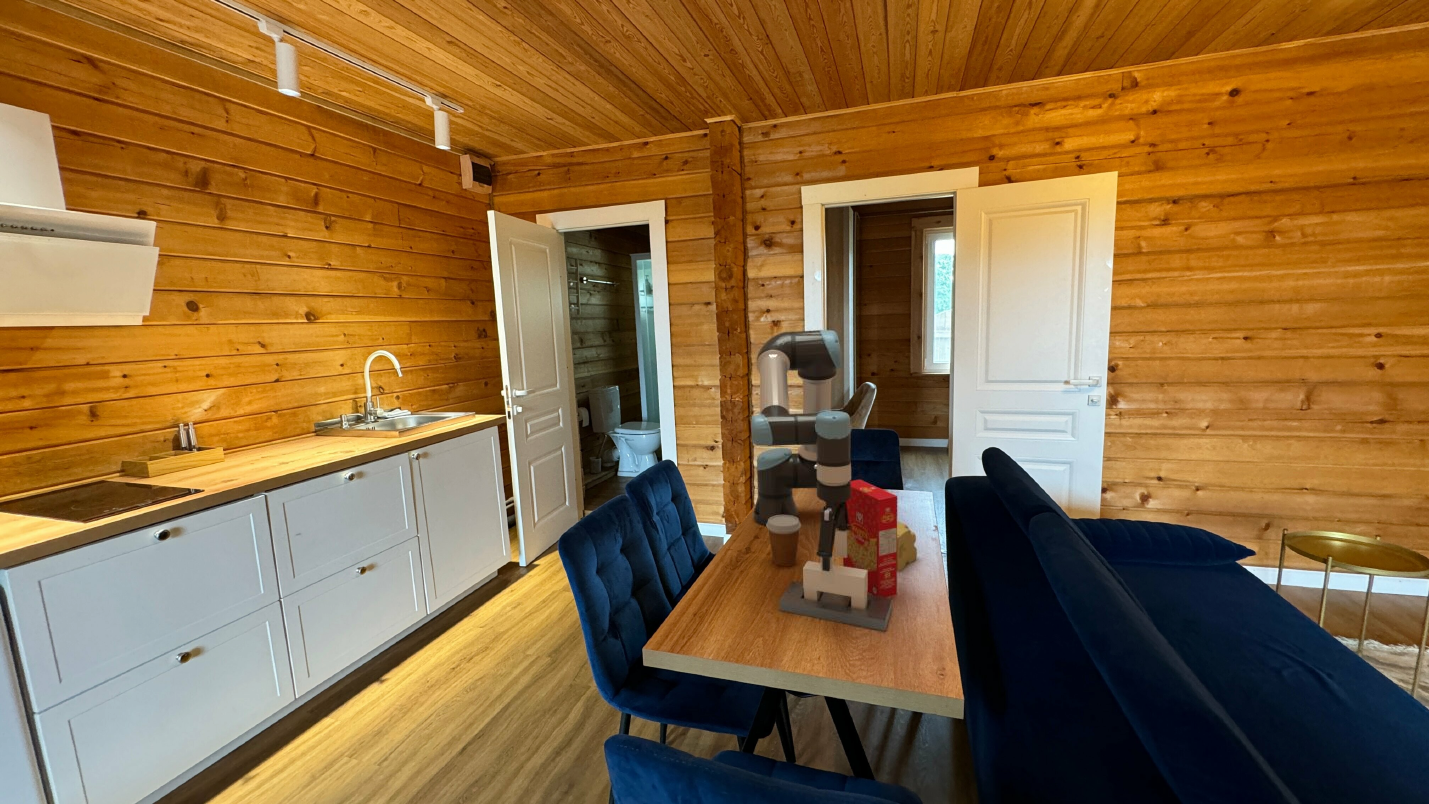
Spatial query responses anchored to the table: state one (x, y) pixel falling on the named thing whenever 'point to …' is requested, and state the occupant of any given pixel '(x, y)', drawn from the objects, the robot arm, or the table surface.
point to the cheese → (905, 546)
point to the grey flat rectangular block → (837, 608)
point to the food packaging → (873, 536)
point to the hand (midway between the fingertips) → (834, 569)
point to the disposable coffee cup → (784, 538)
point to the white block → (837, 583)
